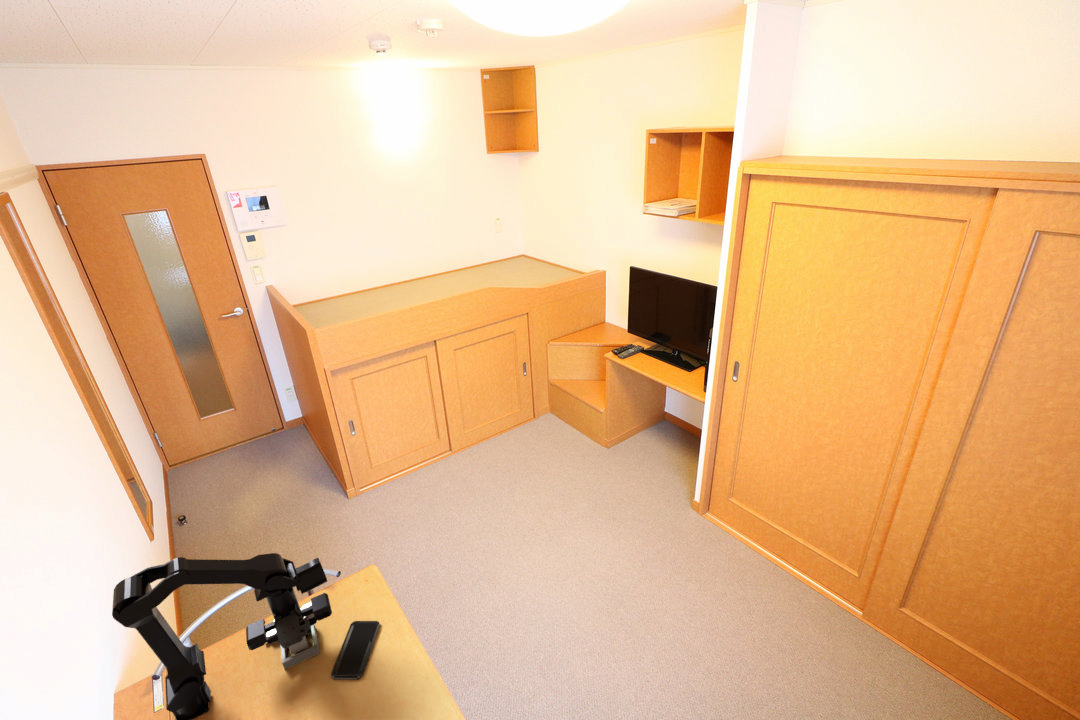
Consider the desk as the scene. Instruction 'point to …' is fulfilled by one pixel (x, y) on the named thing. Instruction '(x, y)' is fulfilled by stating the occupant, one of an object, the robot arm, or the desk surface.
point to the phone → (355, 650)
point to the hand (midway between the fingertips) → (298, 641)
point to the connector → (299, 646)
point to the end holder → (302, 655)
